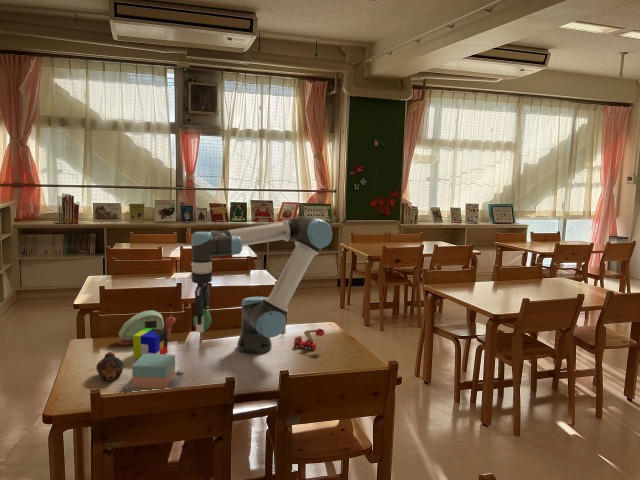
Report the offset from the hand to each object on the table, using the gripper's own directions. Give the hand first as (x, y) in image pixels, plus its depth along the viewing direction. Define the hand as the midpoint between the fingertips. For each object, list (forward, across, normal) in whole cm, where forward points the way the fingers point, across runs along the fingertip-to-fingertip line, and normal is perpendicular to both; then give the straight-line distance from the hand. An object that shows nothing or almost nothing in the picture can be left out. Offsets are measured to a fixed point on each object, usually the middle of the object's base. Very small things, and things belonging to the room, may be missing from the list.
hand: (202, 328), depth 209 cm
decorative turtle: (+16, +11, -32) cm, 38 cm away
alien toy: (+1, 0, 0) cm, 1 cm away
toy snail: (+17, -29, -31) cm, 46 cm away
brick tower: (+16, +15, -14) cm, 27 cm away
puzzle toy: (+17, -12, -24) cm, 32 cm away
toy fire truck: (+17, -27, +42) cm, 52 cm away
